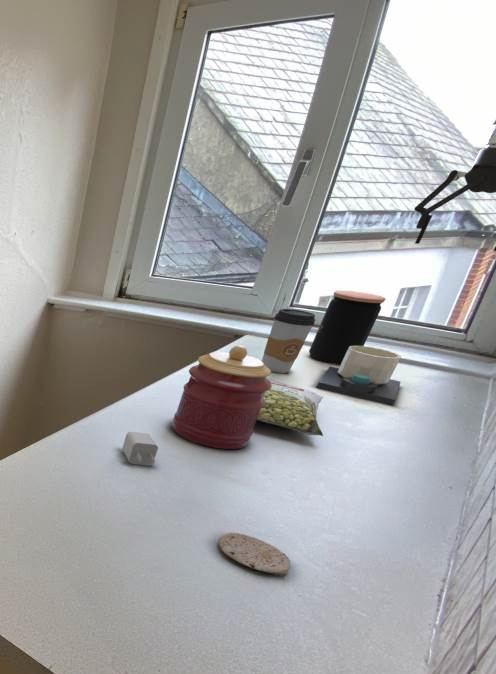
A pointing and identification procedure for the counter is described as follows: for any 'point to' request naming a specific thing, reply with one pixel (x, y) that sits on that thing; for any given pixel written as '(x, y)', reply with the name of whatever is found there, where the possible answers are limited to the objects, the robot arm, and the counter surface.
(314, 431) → the frozen beans
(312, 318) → the coffee cup
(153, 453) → the usb wall charger
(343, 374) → the bowl
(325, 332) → the coffee jar
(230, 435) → the kitchen canister
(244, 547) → the flatbread
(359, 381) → the button
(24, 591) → the counter surface
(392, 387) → the scale
